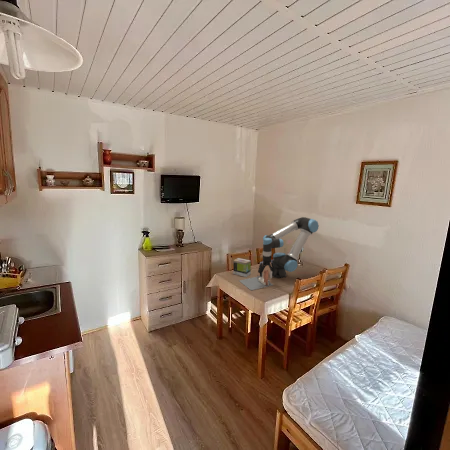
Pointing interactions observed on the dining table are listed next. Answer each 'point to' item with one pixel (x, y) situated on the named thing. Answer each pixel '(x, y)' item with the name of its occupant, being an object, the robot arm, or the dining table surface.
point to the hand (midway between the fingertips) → (266, 278)
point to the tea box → (242, 267)
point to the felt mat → (253, 283)
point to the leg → (265, 280)
